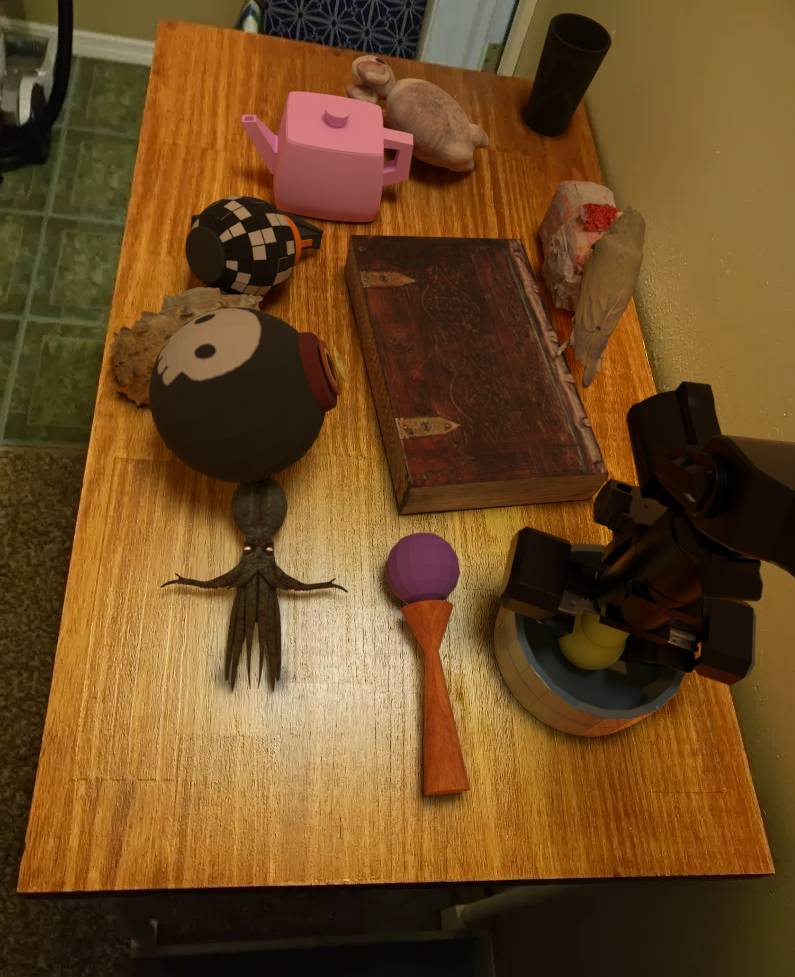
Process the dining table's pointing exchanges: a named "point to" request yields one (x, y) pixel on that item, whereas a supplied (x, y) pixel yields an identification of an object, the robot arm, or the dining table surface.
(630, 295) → the decorative bird model
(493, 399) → the antique book
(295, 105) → the teapot
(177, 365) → the toy
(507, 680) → the bowl
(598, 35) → the cup
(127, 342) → the seashell
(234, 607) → the figurine
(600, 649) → the pear toy
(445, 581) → the kendama
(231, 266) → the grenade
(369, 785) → the dining table surface
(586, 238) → the food item
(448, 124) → the toy
